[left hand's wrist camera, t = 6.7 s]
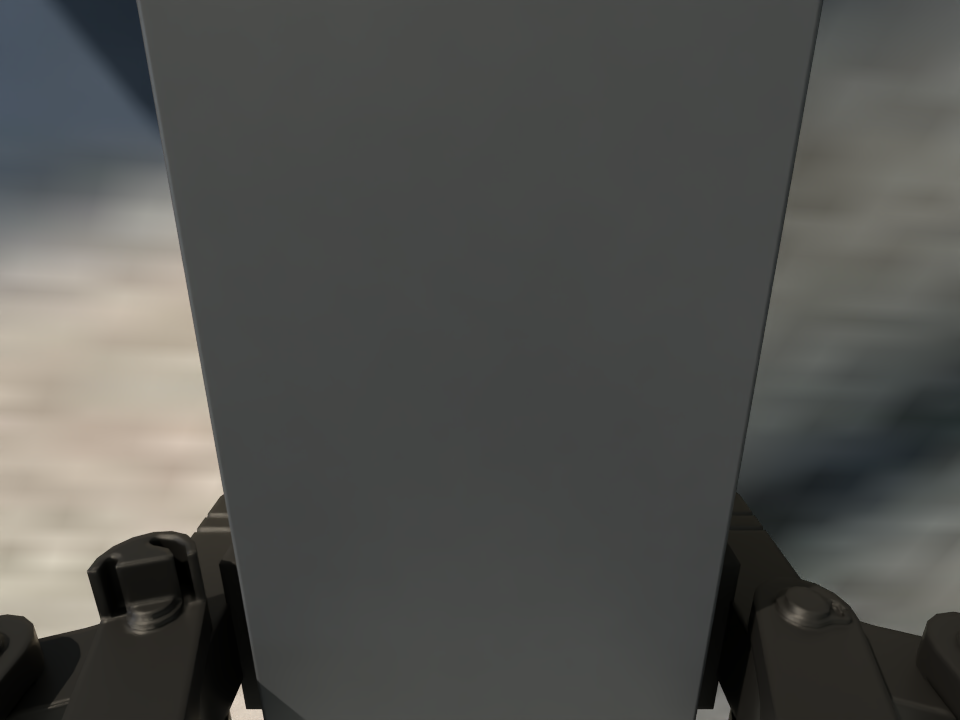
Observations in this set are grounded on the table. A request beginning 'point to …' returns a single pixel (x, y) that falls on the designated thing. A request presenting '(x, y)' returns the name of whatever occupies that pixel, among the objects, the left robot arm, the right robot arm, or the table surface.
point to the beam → (479, 332)
